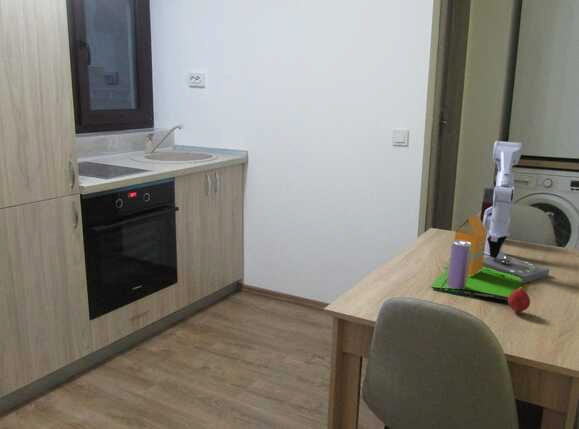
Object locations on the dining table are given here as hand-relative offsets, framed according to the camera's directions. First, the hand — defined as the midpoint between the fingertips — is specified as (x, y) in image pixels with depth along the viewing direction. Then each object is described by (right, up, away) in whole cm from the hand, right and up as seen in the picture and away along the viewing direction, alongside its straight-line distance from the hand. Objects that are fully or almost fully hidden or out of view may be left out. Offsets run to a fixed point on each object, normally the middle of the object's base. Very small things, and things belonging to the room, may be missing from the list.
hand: (494, 256), depth 191 cm
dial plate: (+5, -5, -2) cm, 8 cm away
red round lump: (-8, -14, -38) cm, 42 cm away
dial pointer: (+5, -2, -3) cm, 6 cm away
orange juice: (-12, -5, -5) cm, 14 cm away
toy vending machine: (+14, +4, +38) cm, 41 cm away
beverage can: (-20, -9, -21) cm, 30 cm away
